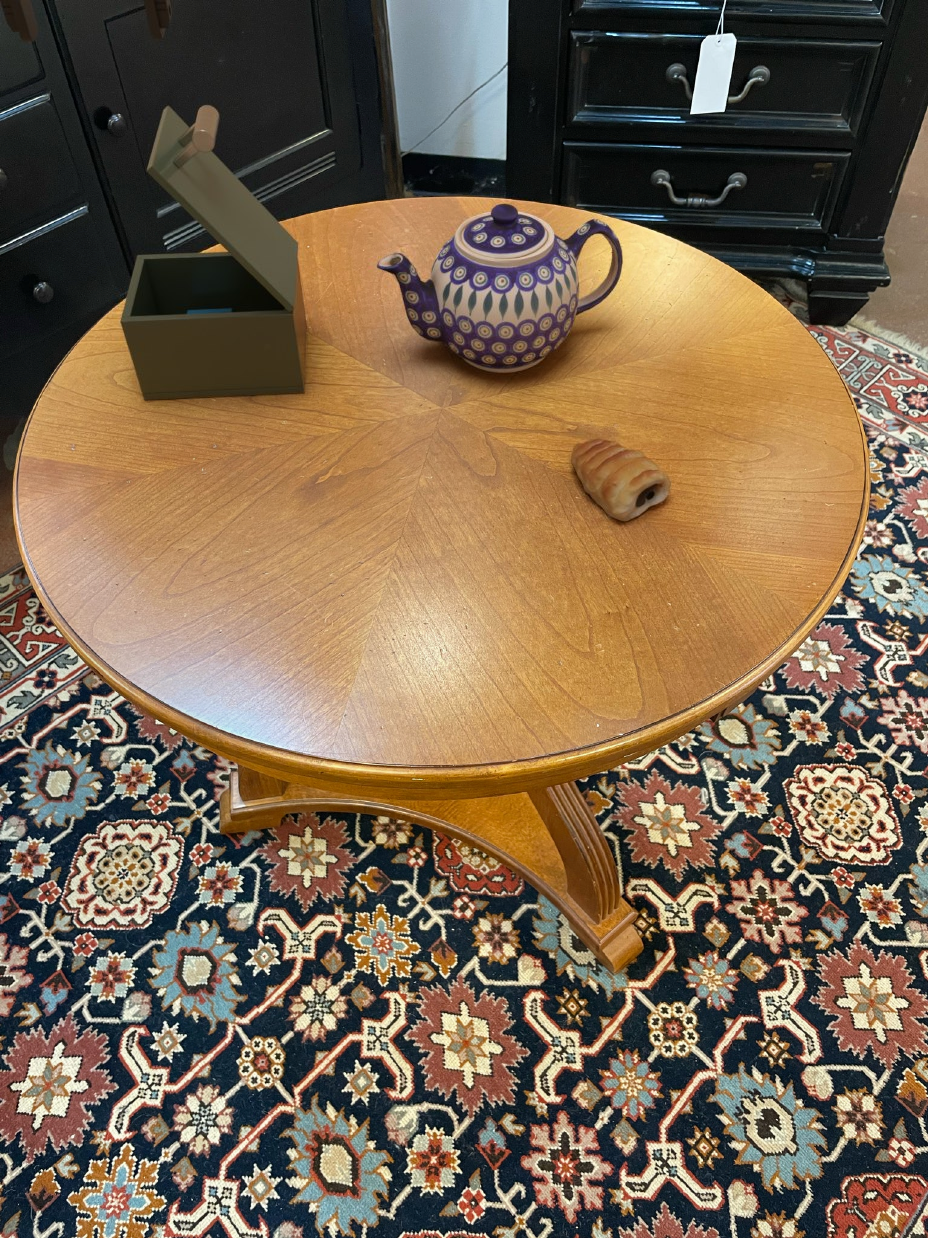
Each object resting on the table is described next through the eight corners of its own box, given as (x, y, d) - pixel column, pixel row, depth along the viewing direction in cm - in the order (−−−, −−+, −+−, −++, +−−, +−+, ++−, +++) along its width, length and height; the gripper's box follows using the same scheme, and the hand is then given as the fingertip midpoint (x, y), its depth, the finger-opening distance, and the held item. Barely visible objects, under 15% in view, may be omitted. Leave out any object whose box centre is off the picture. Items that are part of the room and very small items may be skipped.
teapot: (592, 292, 106) (608, 157, 95) (637, 370, 97) (662, 231, 86) (370, 319, 103) (359, 182, 91) (396, 403, 93) (387, 263, 82)
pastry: (550, 471, 87) (554, 438, 84) (605, 443, 90) (611, 410, 87) (621, 529, 82) (627, 497, 79) (676, 498, 85) (685, 465, 82)
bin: (144, 400, 93) (119, 321, 87) (158, 332, 101) (137, 254, 94) (304, 393, 94) (292, 314, 88) (307, 326, 102) (296, 248, 95)
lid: (145, 171, 77) (188, 132, 75) (163, 109, 84) (201, 73, 82) (289, 312, 87) (329, 281, 85) (293, 247, 95) (330, 217, 93)
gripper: (151, -302, 55) (205, 14, 68) (-103, -302, 54) (-1, 18, 67) (133, -282, 51) (196, 54, 63) (-146, -282, 50) (-27, 59, 62)
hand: (94, 35), depth 65 cm, fingers open, 8 cm apart
